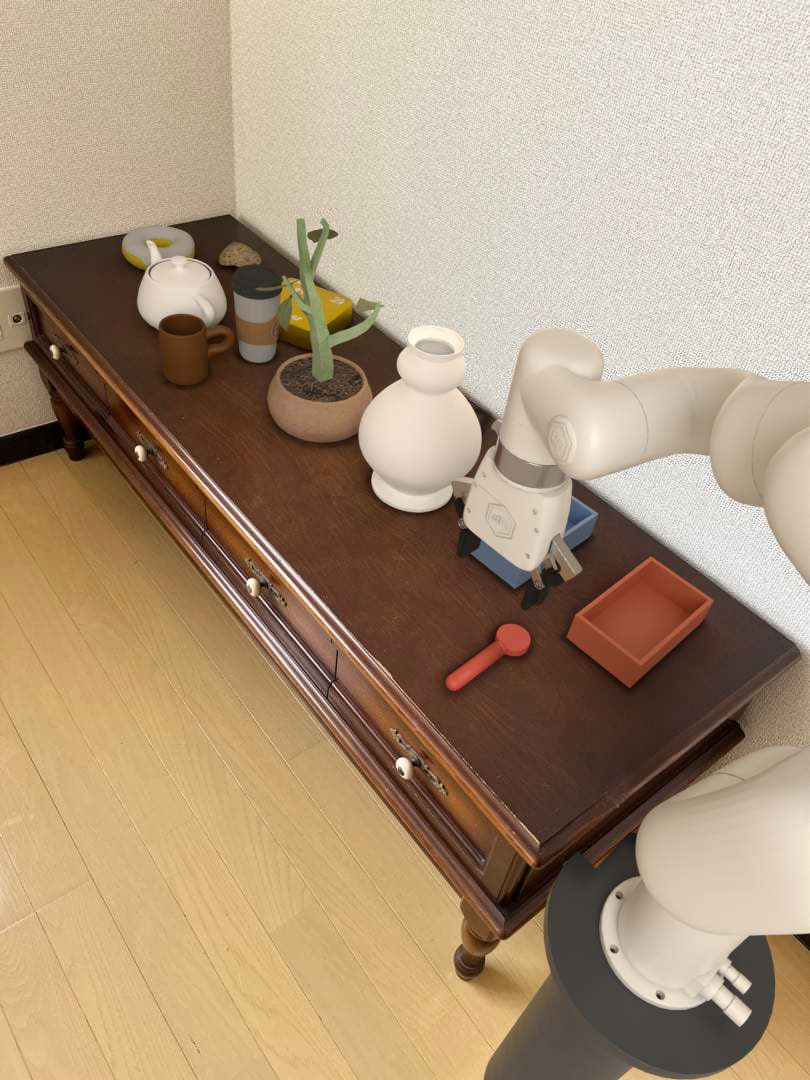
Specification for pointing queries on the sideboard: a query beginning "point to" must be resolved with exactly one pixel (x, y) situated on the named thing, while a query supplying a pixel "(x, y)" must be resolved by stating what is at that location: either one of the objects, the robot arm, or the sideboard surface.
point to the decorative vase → (422, 425)
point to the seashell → (239, 255)
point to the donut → (165, 240)
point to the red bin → (639, 620)
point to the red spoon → (491, 654)
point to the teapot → (180, 290)
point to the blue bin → (575, 533)
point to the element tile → (333, 310)
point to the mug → (189, 347)
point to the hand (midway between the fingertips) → (498, 577)
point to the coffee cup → (256, 311)
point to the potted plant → (318, 361)
